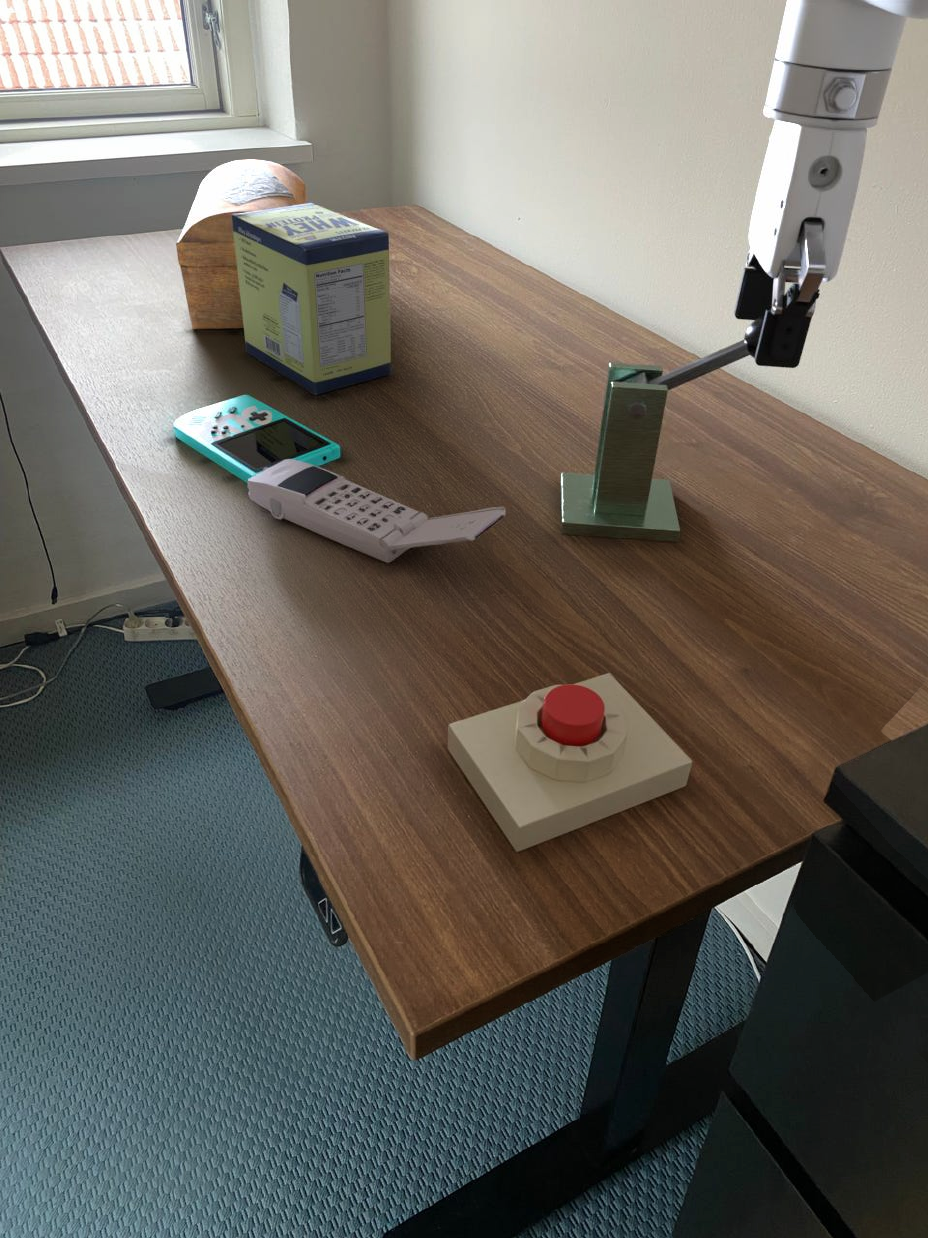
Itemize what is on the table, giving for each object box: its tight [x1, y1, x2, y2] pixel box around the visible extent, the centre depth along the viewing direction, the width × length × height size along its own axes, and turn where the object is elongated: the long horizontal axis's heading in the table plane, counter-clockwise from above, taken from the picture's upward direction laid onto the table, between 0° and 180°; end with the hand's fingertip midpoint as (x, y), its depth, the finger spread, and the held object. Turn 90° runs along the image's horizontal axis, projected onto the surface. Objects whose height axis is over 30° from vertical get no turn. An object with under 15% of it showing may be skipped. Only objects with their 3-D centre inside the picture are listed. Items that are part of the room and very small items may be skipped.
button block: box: [447, 672, 693, 853], centre depth 57 cm, size 12×9×4 cm
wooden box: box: [175, 159, 308, 330], centre depth 123 cm, size 30×16×14 cm, turn 7°
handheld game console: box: [173, 394, 342, 484], centre depth 91 cm, size 10×16×1 cm, turn 45°
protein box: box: [231, 202, 392, 396], centre depth 103 cm, size 10×16×16 cm
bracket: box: [559, 362, 681, 543], centre depth 79 cm, size 10×9×13 cm
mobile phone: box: [247, 459, 507, 564], centre depth 76 cm, size 6×6×25 cm
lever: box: [623, 316, 765, 391], centre depth 74 cm, size 14×3×3 cm, turn 85°
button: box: [541, 684, 605, 746], centre depth 55 cm, size 4×4×2 cm
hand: (763, 340), depth 73 cm, fingers open, 9 cm apart
